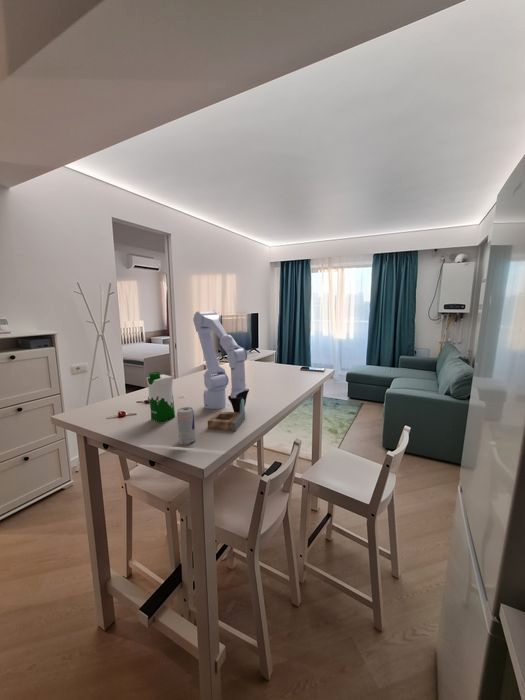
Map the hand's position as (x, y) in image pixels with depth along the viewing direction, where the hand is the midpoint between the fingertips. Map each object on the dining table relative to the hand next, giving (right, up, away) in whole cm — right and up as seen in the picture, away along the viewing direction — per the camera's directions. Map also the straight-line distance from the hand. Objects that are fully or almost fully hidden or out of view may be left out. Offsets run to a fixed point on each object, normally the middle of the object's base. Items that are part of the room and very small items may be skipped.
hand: (239, 409), depth 126 cm
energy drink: (-16, -7, -23) cm, 29 cm away
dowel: (0, -3, 0) cm, 3 cm away
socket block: (-5, -4, -10) cm, 11 cm away
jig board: (-8, -5, -9) cm, 13 cm away
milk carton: (-32, -4, 0) cm, 32 cm away
